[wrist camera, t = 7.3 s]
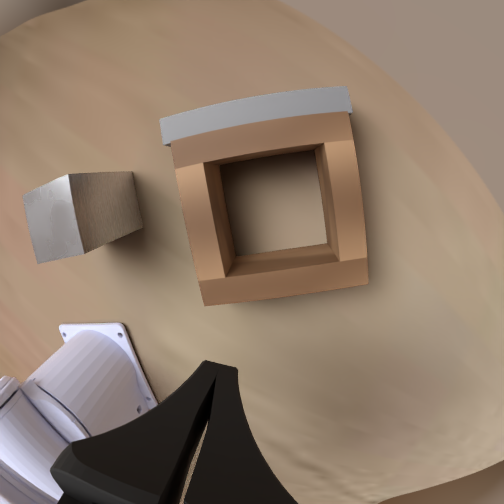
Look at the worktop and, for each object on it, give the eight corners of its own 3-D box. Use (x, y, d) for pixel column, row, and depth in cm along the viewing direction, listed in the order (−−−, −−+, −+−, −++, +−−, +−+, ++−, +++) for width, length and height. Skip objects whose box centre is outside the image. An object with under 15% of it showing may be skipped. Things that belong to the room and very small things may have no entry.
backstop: (339, 123, 16) (353, 112, 13) (183, 149, 17) (163, 144, 14) (334, 101, 16) (346, 86, 12) (180, 128, 17) (159, 119, 14)
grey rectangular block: (143, 227, 19) (84, 253, 12) (99, 236, 20) (37, 264, 13) (132, 171, 18) (67, 174, 11) (89, 185, 19) (22, 195, 12)
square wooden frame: (351, 262, 18) (368, 284, 14) (218, 280, 19) (204, 306, 16) (333, 124, 16) (347, 110, 12) (192, 147, 17) (170, 141, 13)
